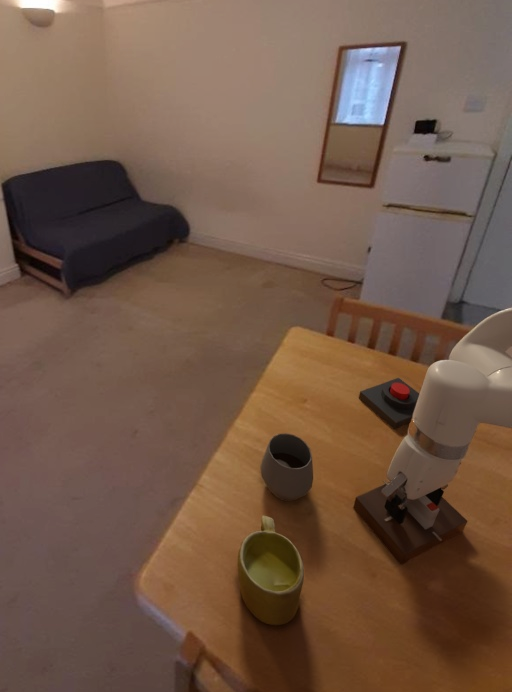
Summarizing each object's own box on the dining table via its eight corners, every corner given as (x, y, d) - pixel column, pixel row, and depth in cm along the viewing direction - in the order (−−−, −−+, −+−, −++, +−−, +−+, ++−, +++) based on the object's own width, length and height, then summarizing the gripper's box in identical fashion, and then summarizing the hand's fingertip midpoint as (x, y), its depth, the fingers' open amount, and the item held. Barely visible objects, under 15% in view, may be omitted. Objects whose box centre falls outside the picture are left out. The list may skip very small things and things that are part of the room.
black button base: (396, 384, 100) (400, 371, 98) (434, 413, 91) (439, 400, 90) (358, 398, 96) (361, 385, 95) (394, 430, 88) (398, 416, 86)
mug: (311, 650, 55) (296, 587, 53) (238, 630, 59) (222, 572, 58) (316, 567, 65) (303, 514, 64) (254, 556, 70) (241, 506, 69)
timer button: (398, 386, 94) (399, 380, 94) (411, 397, 91) (413, 391, 91) (386, 390, 93) (387, 385, 93) (399, 401, 90) (401, 395, 90)
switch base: (407, 478, 78) (411, 467, 77) (466, 535, 68) (471, 523, 67) (350, 504, 74) (353, 493, 72) (404, 569, 64) (408, 557, 63)
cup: (257, 502, 75) (261, 466, 71) (260, 459, 83) (264, 424, 79) (311, 516, 72) (319, 479, 68) (309, 470, 80) (316, 435, 76)
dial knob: (389, 492, 73) (395, 474, 70) (396, 488, 73) (402, 471, 71) (425, 529, 67) (432, 512, 65) (432, 526, 67) (440, 508, 65)
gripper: (454, 401, 68) (427, 471, 75) (374, 433, 63) (354, 505, 70) (503, 435, 61) (468, 508, 69) (418, 474, 56) (390, 548, 64)
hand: (411, 506), depth 70 cm, fingers open, 7 cm apart
